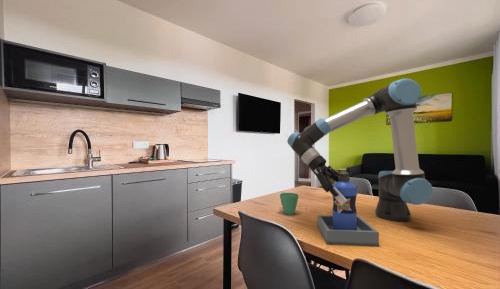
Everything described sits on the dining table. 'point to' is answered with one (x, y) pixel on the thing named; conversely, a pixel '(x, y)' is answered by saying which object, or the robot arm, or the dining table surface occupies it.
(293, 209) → the mug
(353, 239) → the tray
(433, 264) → the dining table surface
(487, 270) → the dining table surface
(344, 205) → the blue plastic bottle
